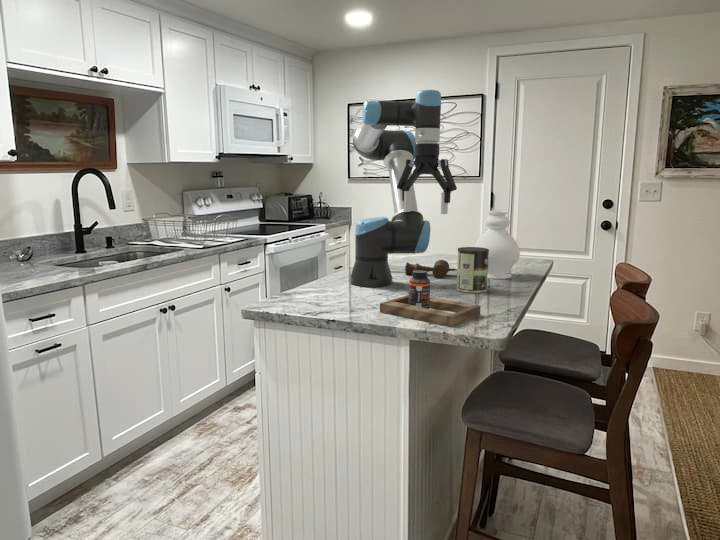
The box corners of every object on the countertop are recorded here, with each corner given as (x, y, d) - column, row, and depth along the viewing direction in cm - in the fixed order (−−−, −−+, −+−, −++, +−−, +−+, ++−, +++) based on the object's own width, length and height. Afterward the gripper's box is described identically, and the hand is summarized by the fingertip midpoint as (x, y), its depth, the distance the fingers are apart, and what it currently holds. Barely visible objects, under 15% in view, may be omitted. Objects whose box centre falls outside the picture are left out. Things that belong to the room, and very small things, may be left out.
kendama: (407, 273, 212) (458, 274, 207) (403, 278, 203) (456, 280, 198) (407, 259, 211) (458, 259, 206) (403, 263, 201) (456, 264, 197)
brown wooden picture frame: (379, 311, 149) (379, 303, 149) (411, 301, 162) (411, 293, 161) (451, 326, 135) (452, 317, 135) (480, 314, 148) (480, 305, 147)
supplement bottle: (423, 314, 146) (424, 273, 144) (404, 311, 150) (405, 271, 148) (432, 309, 151) (434, 270, 149) (414, 306, 154) (415, 268, 152)
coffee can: (486, 287, 183) (488, 247, 181) (487, 293, 174) (489, 251, 171) (456, 286, 185) (458, 246, 183) (455, 292, 176) (457, 250, 173)
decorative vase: (490, 281, 193) (493, 213, 189) (462, 273, 209) (464, 210, 205) (528, 278, 200) (532, 212, 196) (498, 270, 216) (501, 209, 212)
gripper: (387, 143, 167) (386, 211, 171) (457, 141, 151) (454, 215, 155) (400, 144, 172) (399, 210, 176) (469, 142, 157) (466, 214, 161)
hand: (425, 212), depth 166 cm, fingers open, 13 cm apart
